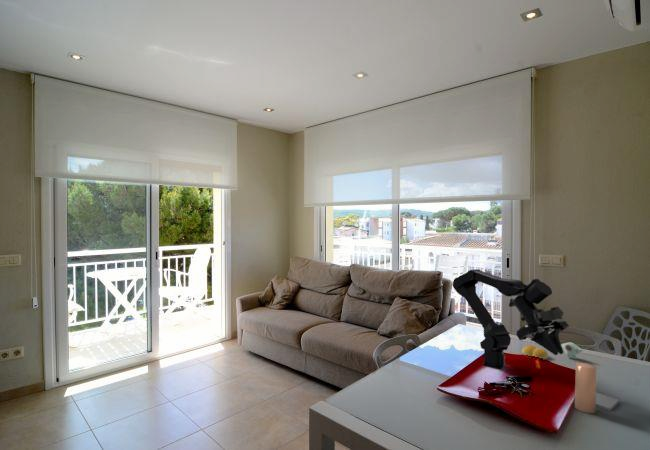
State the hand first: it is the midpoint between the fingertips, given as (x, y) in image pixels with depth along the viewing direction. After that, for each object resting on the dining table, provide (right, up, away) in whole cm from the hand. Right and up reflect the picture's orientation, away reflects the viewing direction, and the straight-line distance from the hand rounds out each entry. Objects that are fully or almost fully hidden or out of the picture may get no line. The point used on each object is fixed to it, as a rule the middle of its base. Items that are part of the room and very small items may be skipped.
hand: (559, 354), depth 113 cm
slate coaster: (+10, -14, -2) cm, 17 cm away
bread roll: (+13, -14, +35) cm, 40 cm away
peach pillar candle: (+3, -14, -7) cm, 16 cm away
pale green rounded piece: (+26, -14, +32) cm, 44 cm away
